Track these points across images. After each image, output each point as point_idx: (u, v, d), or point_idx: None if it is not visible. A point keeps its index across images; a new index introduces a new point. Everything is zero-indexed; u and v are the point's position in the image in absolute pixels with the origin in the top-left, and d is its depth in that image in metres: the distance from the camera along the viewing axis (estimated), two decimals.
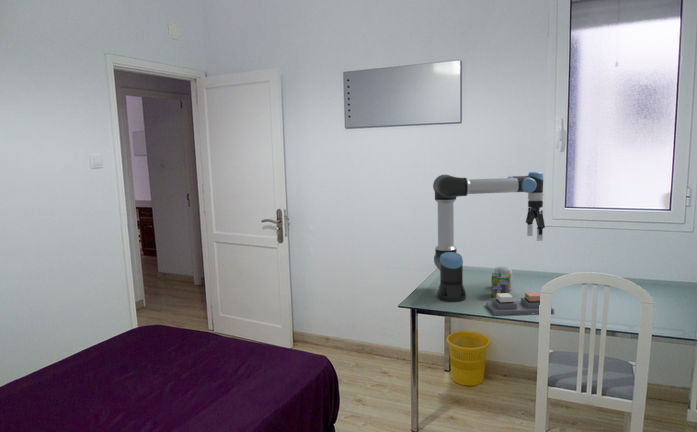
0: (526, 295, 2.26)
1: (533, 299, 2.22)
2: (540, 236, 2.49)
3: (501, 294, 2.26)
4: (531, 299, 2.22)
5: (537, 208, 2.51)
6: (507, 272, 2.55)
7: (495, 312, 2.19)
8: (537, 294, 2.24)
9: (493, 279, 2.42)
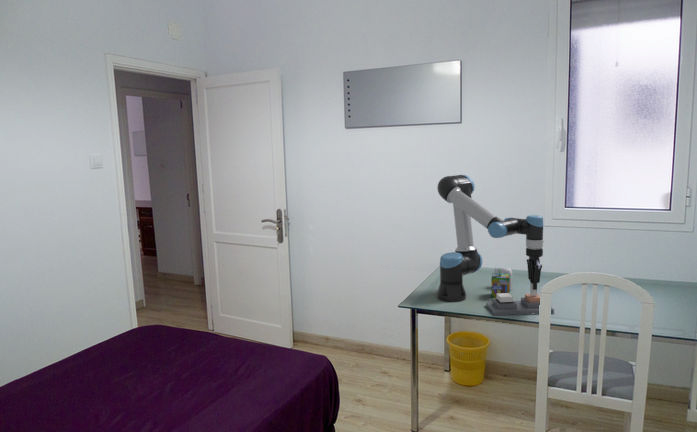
0: (526, 297, 2.26)
1: (533, 301, 2.22)
2: (534, 291, 2.24)
3: (501, 294, 2.26)
4: (531, 301, 2.22)
5: (536, 258, 2.18)
6: (507, 272, 2.55)
7: (495, 312, 2.19)
8: (537, 296, 2.24)
9: (493, 279, 2.42)
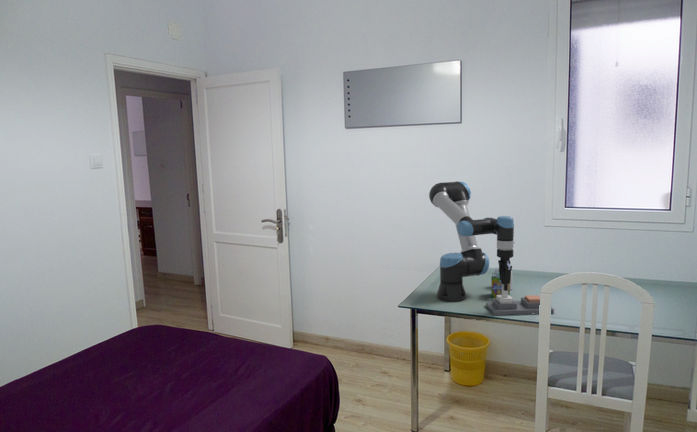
0: (526, 298, 2.26)
1: (533, 302, 2.22)
2: (505, 292, 2.24)
3: (501, 296, 2.26)
4: (531, 302, 2.22)
5: (507, 259, 2.19)
6: None
7: (495, 312, 2.19)
8: (537, 297, 2.24)
9: (493, 279, 2.42)
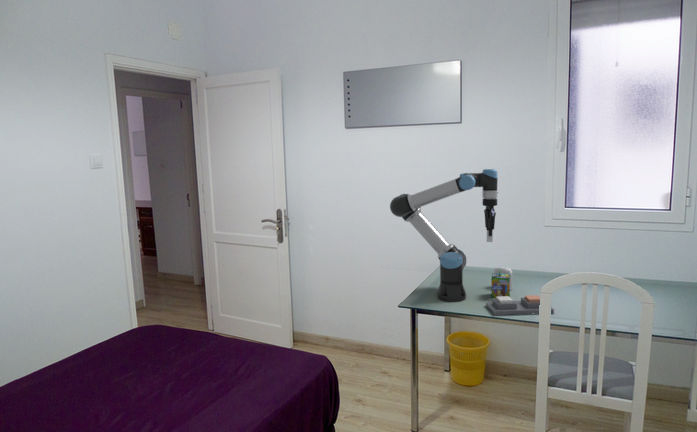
0: (526, 298, 2.26)
1: (533, 302, 2.22)
2: (490, 237, 2.49)
3: (501, 297, 2.26)
4: (531, 302, 2.22)
5: (491, 206, 2.43)
6: (507, 272, 2.55)
7: (495, 312, 2.19)
8: (537, 297, 2.24)
9: (493, 279, 2.42)
